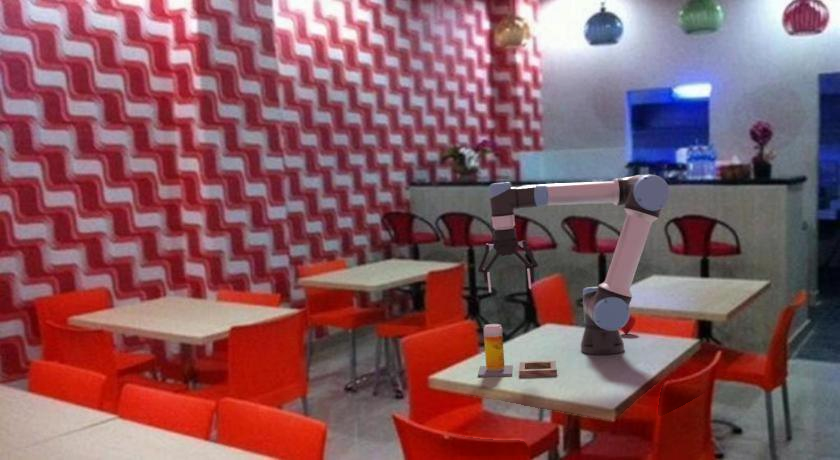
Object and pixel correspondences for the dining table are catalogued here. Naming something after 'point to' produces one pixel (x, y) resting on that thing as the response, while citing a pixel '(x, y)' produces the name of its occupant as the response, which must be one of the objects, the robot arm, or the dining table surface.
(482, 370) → the coaster
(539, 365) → the tray
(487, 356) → the glass of beer
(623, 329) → the strawberry
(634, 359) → the dining table surface
